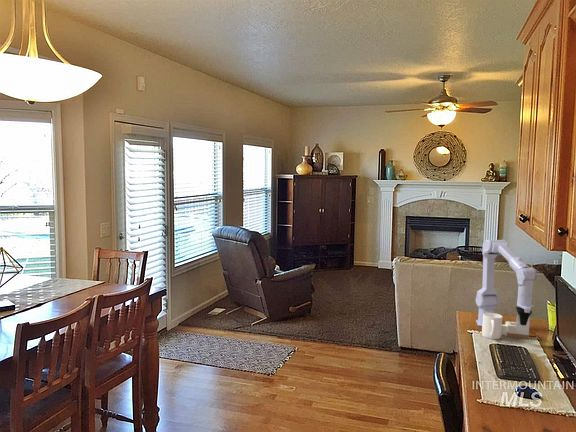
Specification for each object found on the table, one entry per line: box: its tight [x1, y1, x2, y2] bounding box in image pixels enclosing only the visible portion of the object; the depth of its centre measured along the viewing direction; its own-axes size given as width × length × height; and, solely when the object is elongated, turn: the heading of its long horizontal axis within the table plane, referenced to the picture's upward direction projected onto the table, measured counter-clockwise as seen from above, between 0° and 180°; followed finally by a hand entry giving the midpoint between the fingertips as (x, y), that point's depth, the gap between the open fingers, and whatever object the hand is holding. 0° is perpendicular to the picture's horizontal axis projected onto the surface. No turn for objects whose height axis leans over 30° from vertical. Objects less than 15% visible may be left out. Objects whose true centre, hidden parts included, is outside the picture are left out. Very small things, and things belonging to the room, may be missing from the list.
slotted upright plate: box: [501, 320, 530, 340], centre depth 224 cm, size 7×18×6 cm, turn 74°
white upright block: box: [515, 313, 531, 333], centre depth 212 cm, size 2×5×7 cm, turn 75°
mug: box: [481, 312, 503, 340], centre depth 219 cm, size 12×8×10 cm
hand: (522, 324), depth 212 cm, fingers closed on white upright block, 2 cm apart
